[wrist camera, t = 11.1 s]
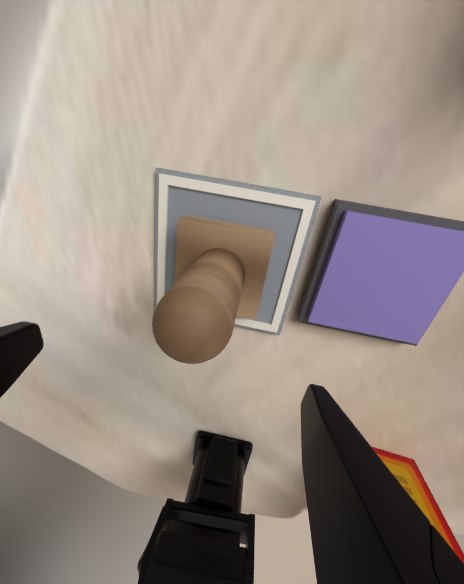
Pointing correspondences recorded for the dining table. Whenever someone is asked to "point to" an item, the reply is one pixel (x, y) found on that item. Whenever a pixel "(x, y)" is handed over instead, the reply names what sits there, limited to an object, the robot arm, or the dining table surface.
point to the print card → (241, 210)
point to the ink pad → (382, 271)
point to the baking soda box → (419, 493)
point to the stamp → (211, 286)
